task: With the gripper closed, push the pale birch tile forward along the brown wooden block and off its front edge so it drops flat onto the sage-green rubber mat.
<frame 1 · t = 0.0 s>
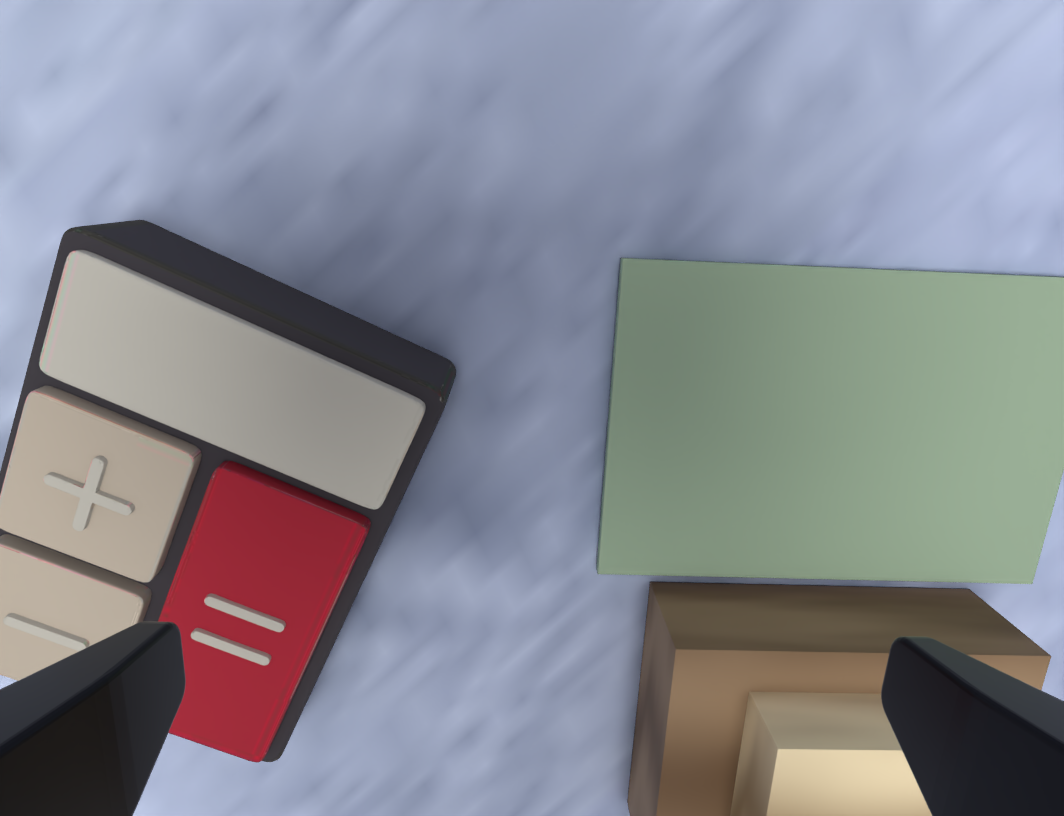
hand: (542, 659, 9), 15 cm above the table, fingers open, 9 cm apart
brown wooden block: (791, 699, 27), on the table
mat: (838, 430, 24), on the table
birch tile: (836, 794, 23), point 4 cm above the table, touching brown wooden block
calculator: (230, 485, 24), on the table
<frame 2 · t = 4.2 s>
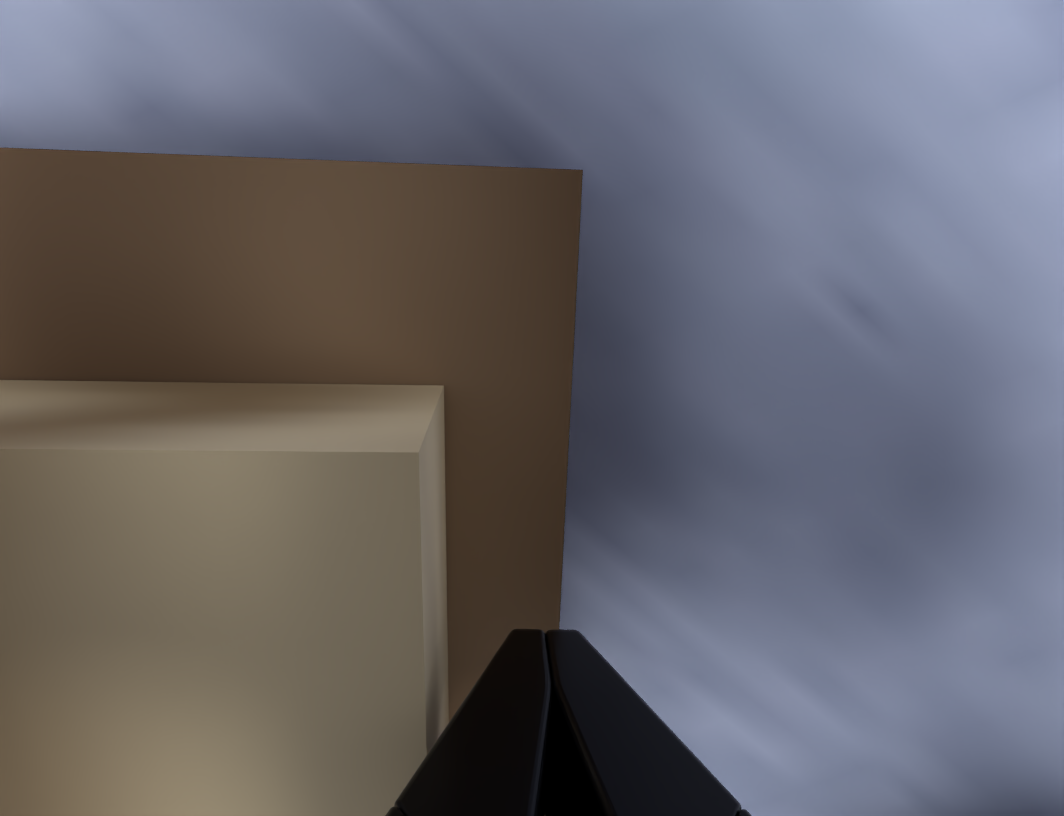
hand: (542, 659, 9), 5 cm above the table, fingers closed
brown wooden block: (281, 507, 13), on the table
birch tile: (146, 636, 9), point 4 cm above the table
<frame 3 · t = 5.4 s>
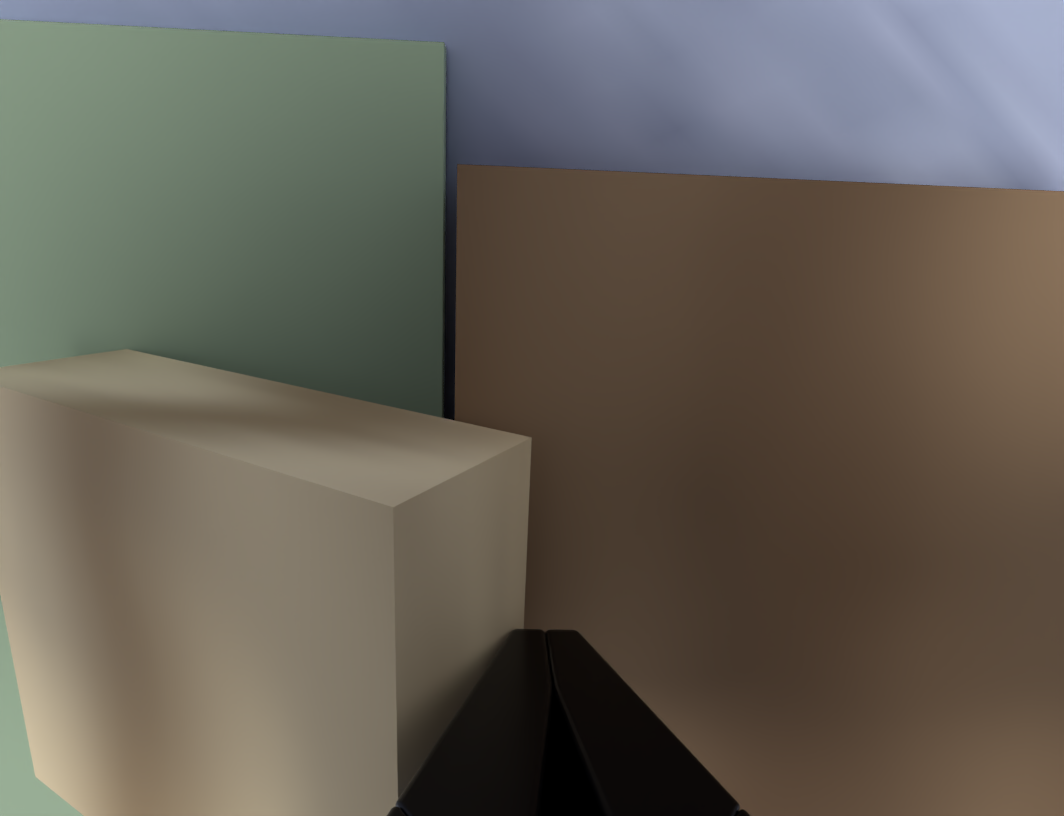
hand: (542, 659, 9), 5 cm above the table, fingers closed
brown wooden block: (726, 515, 13), on the table
mat: (151, 500, 13), on the table
birch tile: (302, 600, 11), point 3 cm above the table, tilted 32°, touching gripper
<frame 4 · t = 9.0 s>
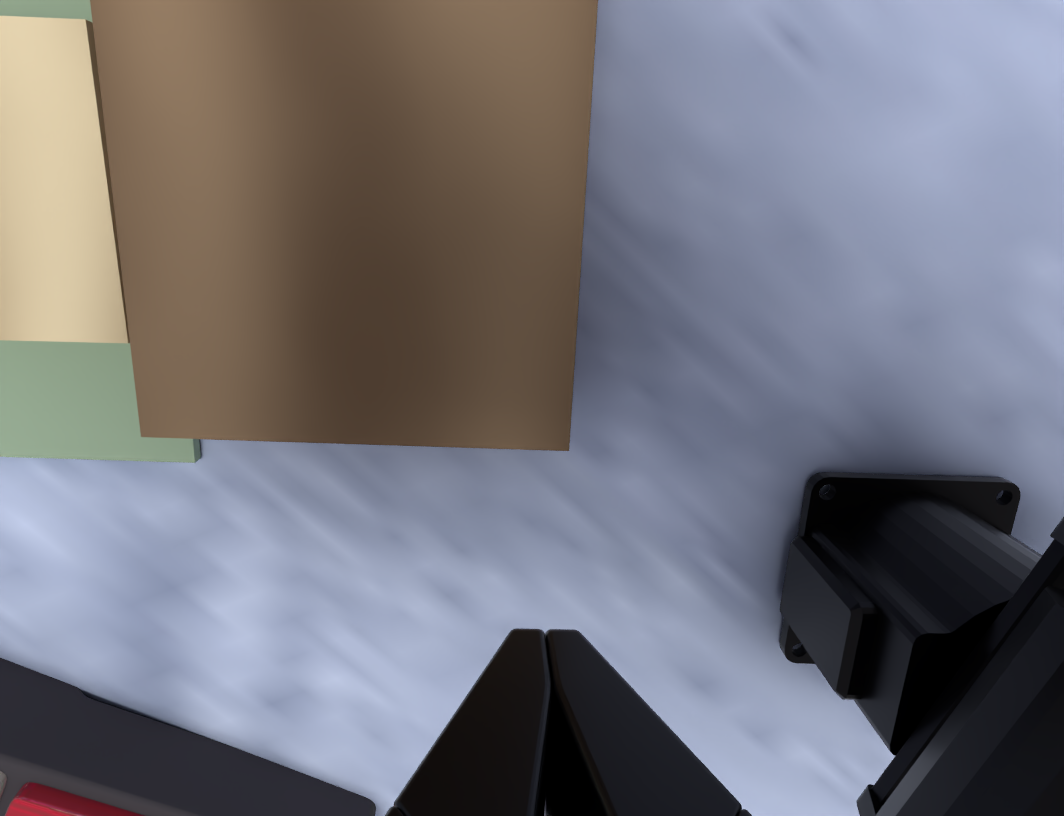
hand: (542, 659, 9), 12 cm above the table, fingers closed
brown wooden block: (384, 183, 18), on the table
birch tile: (2, 188, 18), resting on mat
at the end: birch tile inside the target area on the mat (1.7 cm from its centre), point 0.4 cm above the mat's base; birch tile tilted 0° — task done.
